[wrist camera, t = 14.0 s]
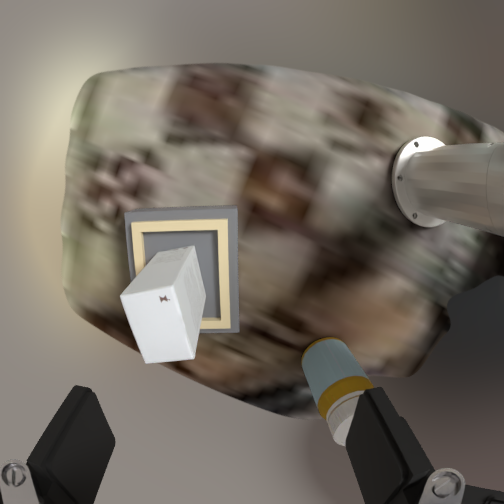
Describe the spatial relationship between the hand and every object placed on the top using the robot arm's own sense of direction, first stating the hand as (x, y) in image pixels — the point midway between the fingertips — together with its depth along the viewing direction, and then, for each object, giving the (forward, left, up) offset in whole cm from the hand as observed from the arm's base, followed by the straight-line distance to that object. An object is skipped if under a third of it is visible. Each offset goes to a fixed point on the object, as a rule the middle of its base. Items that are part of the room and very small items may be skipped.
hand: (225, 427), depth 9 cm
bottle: (-13, +16, -27) cm, 34 cm away
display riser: (+5, +2, -27) cm, 27 cm away
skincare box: (+5, +2, -23) cm, 24 cm away
